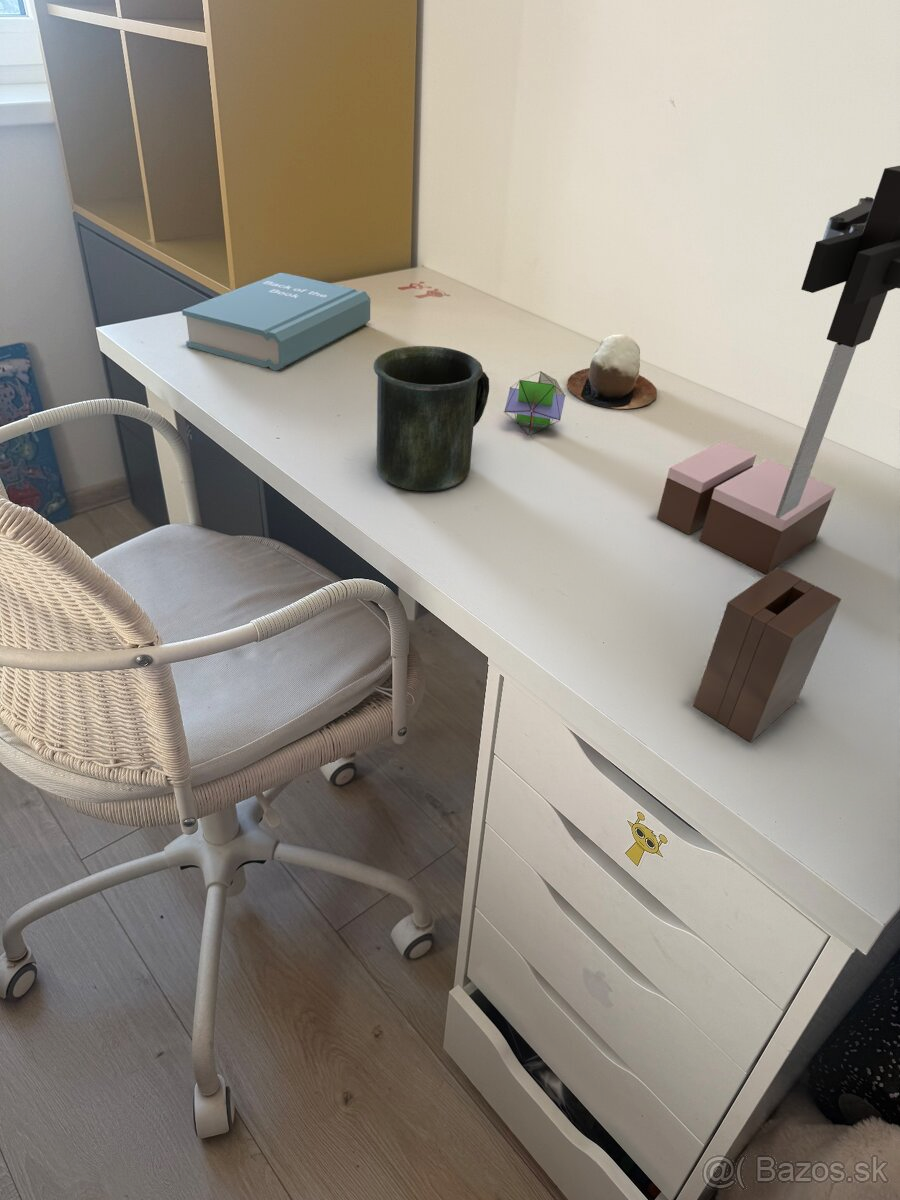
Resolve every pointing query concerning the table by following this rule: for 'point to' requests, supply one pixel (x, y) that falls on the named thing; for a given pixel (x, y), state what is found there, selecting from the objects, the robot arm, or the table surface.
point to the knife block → (764, 652)
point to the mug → (427, 415)
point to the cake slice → (699, 484)
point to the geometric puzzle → (536, 401)
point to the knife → (846, 336)
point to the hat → (614, 376)
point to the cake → (764, 516)
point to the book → (276, 319)
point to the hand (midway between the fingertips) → (834, 273)
